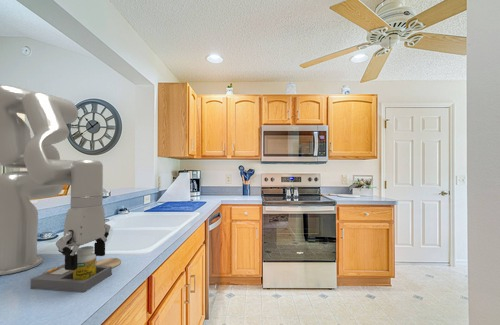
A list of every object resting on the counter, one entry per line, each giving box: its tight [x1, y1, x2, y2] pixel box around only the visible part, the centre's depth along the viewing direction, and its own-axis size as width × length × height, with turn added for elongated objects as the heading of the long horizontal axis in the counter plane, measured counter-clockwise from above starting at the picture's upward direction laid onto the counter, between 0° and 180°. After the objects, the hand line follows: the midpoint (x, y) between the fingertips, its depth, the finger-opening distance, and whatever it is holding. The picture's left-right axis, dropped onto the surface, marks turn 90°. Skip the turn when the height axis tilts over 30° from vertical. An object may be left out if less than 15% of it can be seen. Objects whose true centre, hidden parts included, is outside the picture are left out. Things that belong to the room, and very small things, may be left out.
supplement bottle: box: [73, 245, 97, 280], centre depth 64 cm, size 5×5×10 cm
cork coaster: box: [96, 257, 122, 269], centre depth 75 cm, size 9×9×1 cm
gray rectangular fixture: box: [30, 263, 113, 293], centre depth 65 cm, size 16×10×3 cm, turn 83°
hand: (86, 262), depth 64 cm, fingers open, 9 cm apart
